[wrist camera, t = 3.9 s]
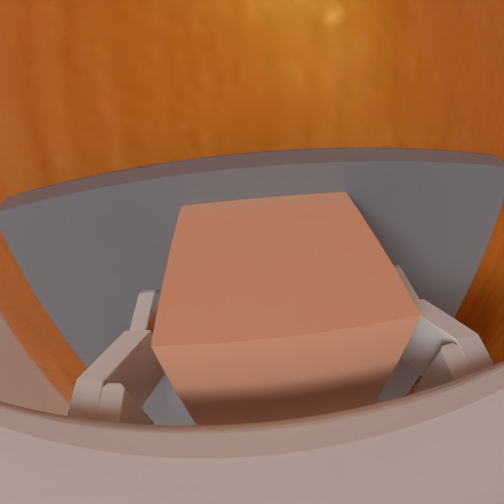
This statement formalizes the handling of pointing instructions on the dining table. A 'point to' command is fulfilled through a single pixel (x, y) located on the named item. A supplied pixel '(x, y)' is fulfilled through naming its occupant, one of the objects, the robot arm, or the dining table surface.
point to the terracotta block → (279, 310)
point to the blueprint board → (239, 188)
